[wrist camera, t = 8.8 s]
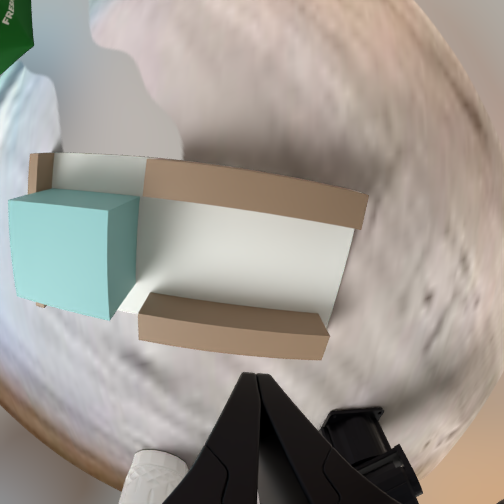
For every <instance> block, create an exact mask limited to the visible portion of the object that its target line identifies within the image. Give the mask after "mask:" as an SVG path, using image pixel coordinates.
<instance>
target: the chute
mask: <svg viewBox="0 0 504 504" xmlns="http://www.w3.org/2000/svg"><path fill="white" fill-rule="evenodd" d="M52 188H55V189H68V190H80V191H91V192H101V193H111V194H121V195H131V196H140V202H139V214H138V228H137V248H136V284H135V285H134V287H133V288H132V289H131V291H130V292H129V294H128V295H127V296H126V298H125V299H124V301H123V302H122V304H121V305H120V306H119V308H118V309H117V310H118V311H123V312H128V313H133V314H138V331H139V340H143V341H148V342H153V343H159V344H165V345H170V346H177V347H183V348H190V349H196V350H204V351H211V352H219V353H227V354H237V355H246V356H257V357H269V358H283V359H301V360H322V357H323V354H324V352H325V349H326V346H327V343H328V340H329V337H330V335H329V333H328V331H327V329H326V328H327V325H328V322H329V319H330V316H331V313H332V309H333V306H334V303H335V299H336V296H337V293H338V289H339V286H340V282H341V279H342V275H343V272H344V268H345V264H346V261H347V257H348V253H349V249H350V245H351V241H352V237H353V233H354V229H359V230H361V228H362V224H363V220H364V215H365V211H366V206H367V202H368V197H369V195H366V194H363V192H360V191H355V190H351V189H347V188H343V187H338V186H334V185H329V184H324V183H320V182H315V181H310V180H305V179H300V178H295V177H290V176H284V175H279V174H273V173H267V172H262V171H256V170H249V169H243V168H236V167H230V166H223V165H215V164H208V163H200V162H192V161H183V160H174V159H163V158H153V157H141V156H128V155H112V154H91V153H34V154H30V161H29V176H28V194H32V193H36V192H40V191H44V190H48V189H52ZM36 306H39V307H42V308H45V307H46V306H47V305H45V304H41V303H38V302H36Z"/></svg>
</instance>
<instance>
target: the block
mask: <svg viewBox="0 0 504 504" xmlns="http://www.w3.org/2000/svg"><path fill="white" fill-rule="evenodd" d="M139 202H140V196H131V195H121V194H111V193H101V192H91V191H80V190H68V189H55V188H52V189H48V190H44V191H40V192H36V193H32V194H28V195H25V196H21V197H17V198H14V199H10V200H8V213H9V235H10V248H11V258H12V266H13V274H14V281H15V287H16V293H17V296H18V297H21V298H24V299H28V300H31V301H34V302H38V303H41V304H45V305H48V306H52V307H56V308H59V309H63V310H67V311H71V312H75V313H79V314H83V315H87V316H91V317H95V318H100V319H104V320H109V321H110V320H111V318H112V317H113V315H114V314H115V312H116V311H117V309H118V308H119V306H120V305H121V304H122V302H123V301H124V299H125V298H126V296H127V295H128V294H129V292H130V291H131V289H132V288H133V287H134V285H135V284H136V248H137V228H138V214H139Z"/></svg>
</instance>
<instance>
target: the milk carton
mask: <svg viewBox="0 0 504 504" xmlns="http://www.w3.org/2000/svg"><path fill="white" fill-rule="evenodd" d="M33 46H34V40H33V28H32V12H31V0H0V75H1V74H2V73H3V72H4V71H5V70H6V69H7V68H8V67H9V66H11V65H12V64H13V63H14V62H15V61H16V60H17V59H19V58H20V57H21V56H22V55H23V54H25V53H26V52H27V51H28V50H29V49H31V48H32V47H33Z"/></svg>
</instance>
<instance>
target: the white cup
mask: <svg viewBox="0 0 504 504" xmlns="http://www.w3.org/2000/svg"><path fill="white" fill-rule="evenodd" d="M187 473H188V467H187V465H186V463H185V462H184V461H183V460H181V459H180V458H178V457H177V456H174V455H172V454H169V453H166V452H162V451H157V450H141V451H139V452H137V453H135V456H134V459H133V462H132V466H131V468H130V470H129V471H128V475H127V477H126V480H125V483H124V486H123V490H122V493H121V496H120V500H119V503H118V504H162V503H163V502H164V500H165V499H166V498H167V497H168V496H169V495H170V494H171V492H172V491H173V490H174V489H175V488H176V487H177V485H178V484H179V483H180V482H181V481H182V479H183V478H184V477H185V475H186V474H187Z"/></svg>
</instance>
